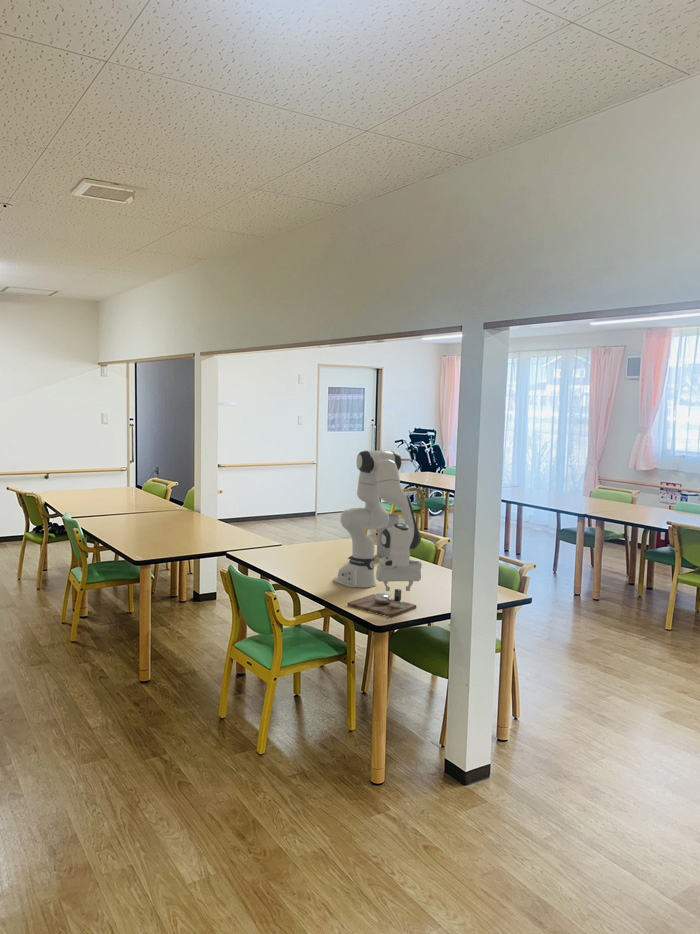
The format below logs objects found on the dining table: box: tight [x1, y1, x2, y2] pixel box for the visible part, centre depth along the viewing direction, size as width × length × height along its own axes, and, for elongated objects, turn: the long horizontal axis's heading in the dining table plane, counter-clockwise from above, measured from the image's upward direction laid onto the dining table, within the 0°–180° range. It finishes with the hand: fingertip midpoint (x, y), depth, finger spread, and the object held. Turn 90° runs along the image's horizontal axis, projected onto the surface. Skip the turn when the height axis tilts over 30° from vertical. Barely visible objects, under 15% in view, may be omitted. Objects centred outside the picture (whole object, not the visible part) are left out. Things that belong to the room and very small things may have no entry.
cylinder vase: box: [376, 513, 400, 558], centre depth 415 cm, size 12×12×25 cm
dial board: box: [347, 594, 417, 619], centre depth 311 cm, size 24×20×2 cm
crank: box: [375, 588, 404, 605], centre depth 311 cm, size 14×7×7 cm, turn 50°
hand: (397, 590), depth 308 cm, fingers open, 8 cm apart
